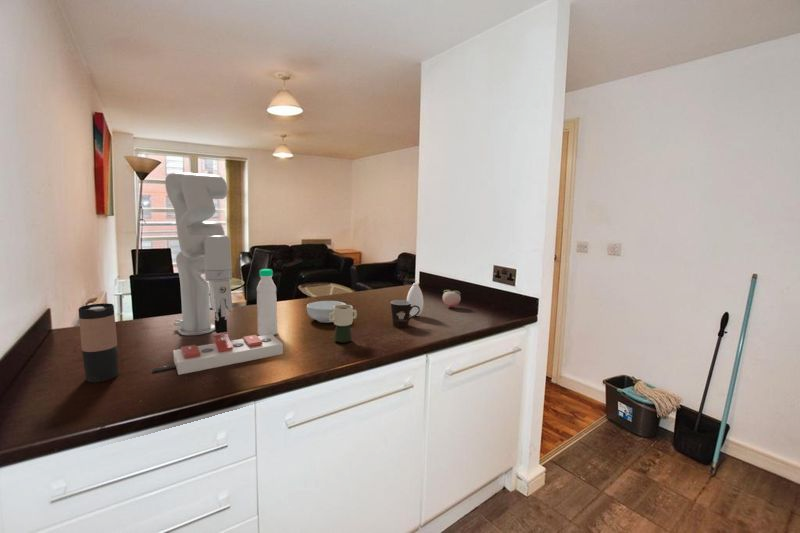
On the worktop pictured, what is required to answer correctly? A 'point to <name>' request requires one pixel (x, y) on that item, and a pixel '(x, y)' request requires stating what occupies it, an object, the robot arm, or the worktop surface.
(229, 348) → the rocker middle
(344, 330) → the character mug
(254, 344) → the rocker right
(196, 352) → the rocker left
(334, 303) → the cereal bowl
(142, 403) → the worktop surface
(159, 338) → the worktop surface
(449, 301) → the pale pink rounded piece
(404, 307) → the coffee mug
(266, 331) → the water bottle
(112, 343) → the travel mug
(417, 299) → the sauce bottle
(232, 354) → the power strip
